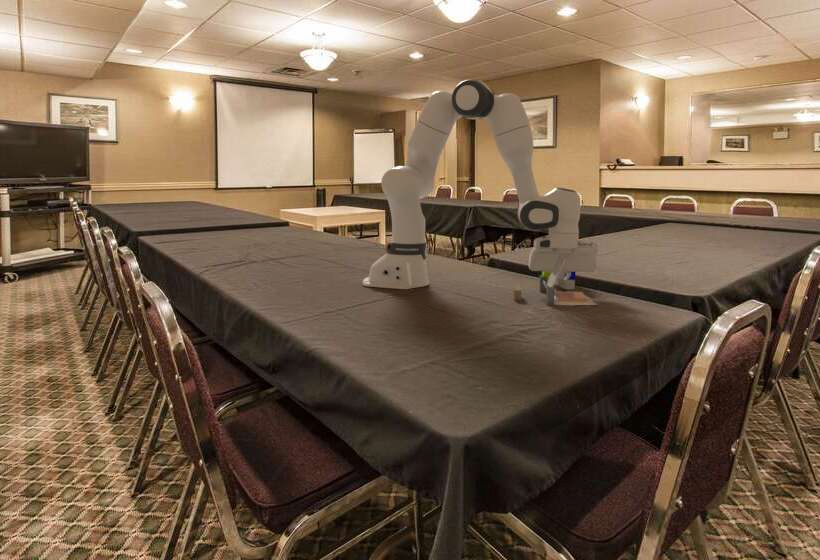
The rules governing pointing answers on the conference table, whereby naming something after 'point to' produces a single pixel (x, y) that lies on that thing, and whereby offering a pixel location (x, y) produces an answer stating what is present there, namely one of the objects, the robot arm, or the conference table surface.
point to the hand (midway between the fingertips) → (561, 285)
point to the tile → (570, 297)
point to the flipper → (555, 275)
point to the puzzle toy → (561, 276)
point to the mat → (567, 303)
